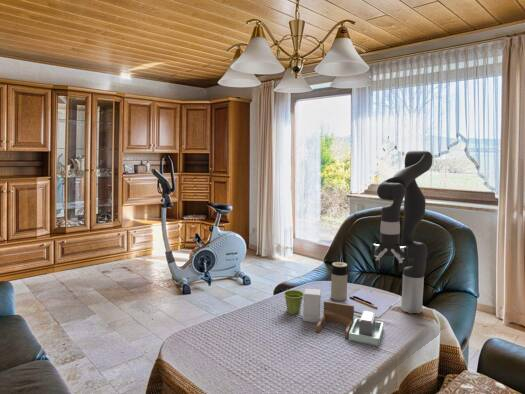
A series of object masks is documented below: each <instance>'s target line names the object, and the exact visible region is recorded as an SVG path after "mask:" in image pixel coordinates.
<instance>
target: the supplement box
mask: <svg viewBox="0 0 525 394" xmlns="http://www.w3.org/2000/svg"><path fill="white" fill-rule="evenodd" d="M303 293H304V296H303V312H302V313H303V315H302V316H303V317H302V321H303V322H311V323H318V322H319V321H320V319H321V318H320V317H321V299H322V298H321V296H322V295H321V293H322V292H321V289H320V288H319V289H316V288H304V292H303Z"/></svg>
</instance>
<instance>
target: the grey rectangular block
mask: <svg viewBox="0 0 525 394" xmlns="http://www.w3.org/2000/svg"><path fill="white" fill-rule="evenodd" d="M375 321H376V313H375V312H373V311H367V310H363V311H362V313H361V316H360V321H359V334H361V335H366V336H371V337H373V334H374V330H375Z"/></svg>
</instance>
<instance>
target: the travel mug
mask: <svg viewBox="0 0 525 394" xmlns="http://www.w3.org/2000/svg"><path fill="white" fill-rule="evenodd" d="M331 265H332V268H331V278H330V281H331V283H330V298H331V299H333V300H334V301H338V302H340V301H346V300H347V299H348V298H347V297H348V272H349V271H348V268H347V267H348V263H346V262H342V261H336V262H332V263H331Z"/></svg>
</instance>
